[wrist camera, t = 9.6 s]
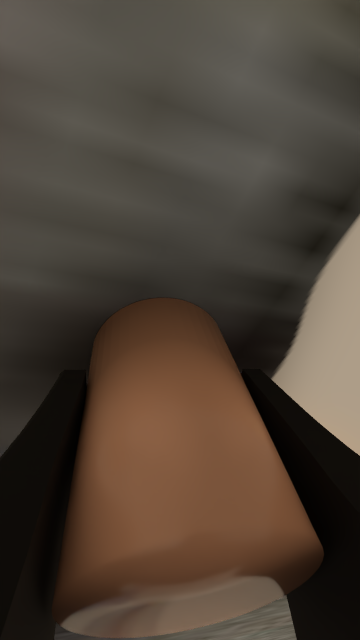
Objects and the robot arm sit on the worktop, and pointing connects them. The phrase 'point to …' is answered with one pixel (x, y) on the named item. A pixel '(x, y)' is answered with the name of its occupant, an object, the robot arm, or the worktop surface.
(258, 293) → the worktop surface
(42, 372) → the worktop surface
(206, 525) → the terracotta cylinder
